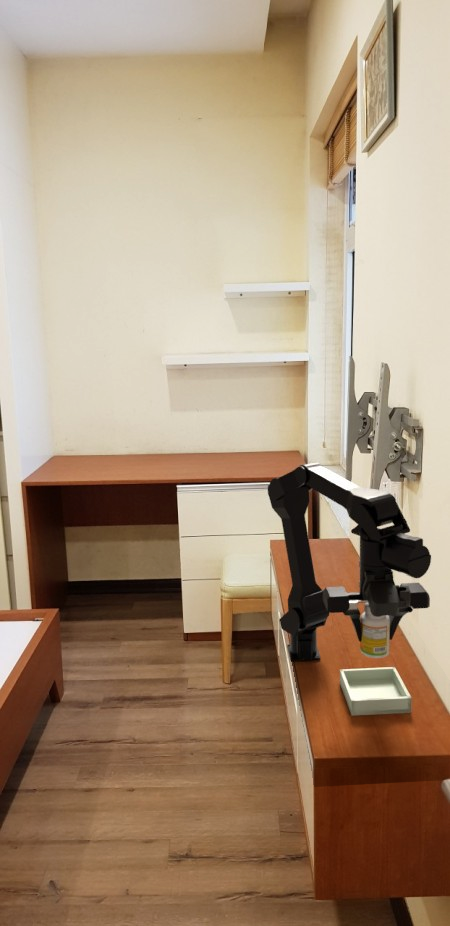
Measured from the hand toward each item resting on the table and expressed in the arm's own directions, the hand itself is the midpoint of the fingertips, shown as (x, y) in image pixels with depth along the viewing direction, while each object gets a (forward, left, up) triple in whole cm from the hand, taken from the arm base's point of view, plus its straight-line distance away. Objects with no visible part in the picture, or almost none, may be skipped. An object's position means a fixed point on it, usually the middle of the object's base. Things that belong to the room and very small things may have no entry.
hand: (374, 639), depth 125 cm
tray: (0, 0, -12) cm, 12 cm away
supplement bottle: (0, 0, -3) cm, 3 cm away
